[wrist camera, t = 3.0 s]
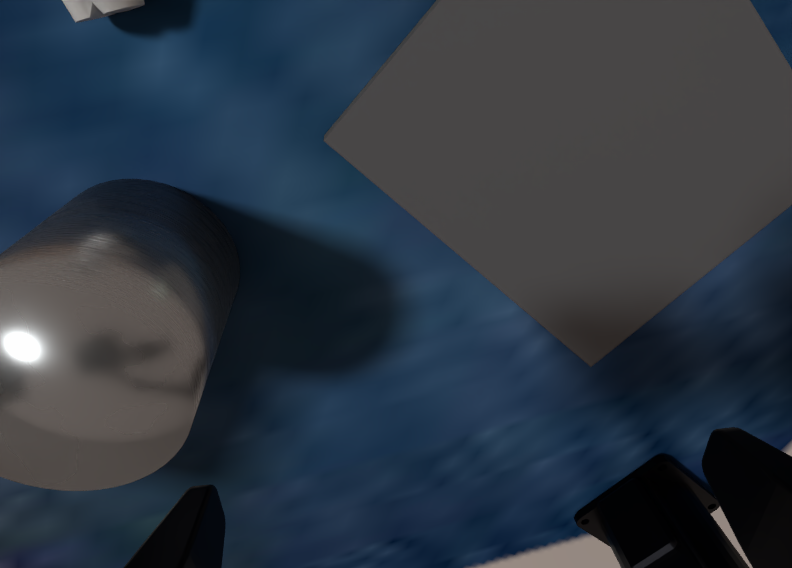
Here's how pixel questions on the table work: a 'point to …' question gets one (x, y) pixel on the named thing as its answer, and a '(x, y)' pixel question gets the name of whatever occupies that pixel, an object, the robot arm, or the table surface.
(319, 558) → the table surface
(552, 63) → the mat
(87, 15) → the sitting furry creature
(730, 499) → the robot arm
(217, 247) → the tin
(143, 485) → the table surface
